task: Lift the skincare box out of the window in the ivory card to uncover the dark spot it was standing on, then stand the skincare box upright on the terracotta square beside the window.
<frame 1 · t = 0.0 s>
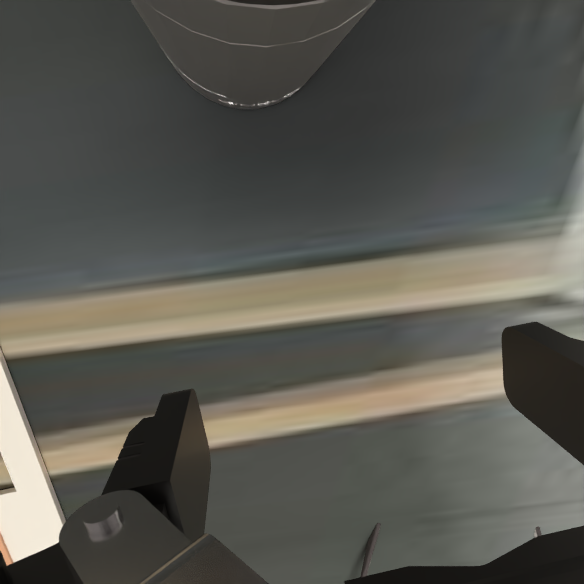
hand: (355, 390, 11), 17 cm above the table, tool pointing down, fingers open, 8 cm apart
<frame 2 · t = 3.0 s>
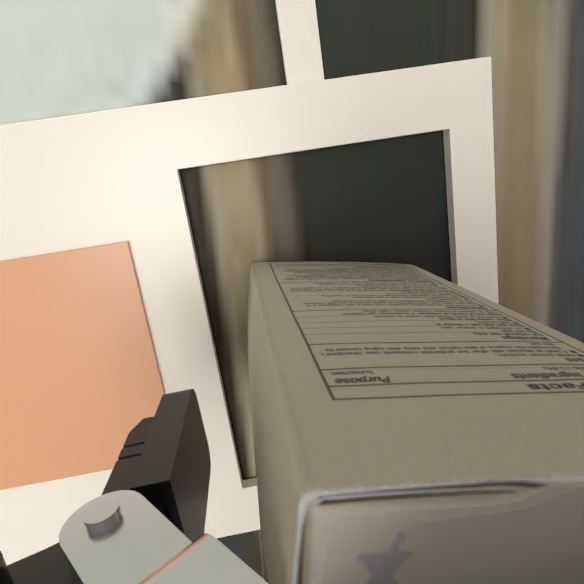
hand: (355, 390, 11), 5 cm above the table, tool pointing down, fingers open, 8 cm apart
skincare box: (334, 316, 17), resting in window card
window card: (200, 341, 16), on the table
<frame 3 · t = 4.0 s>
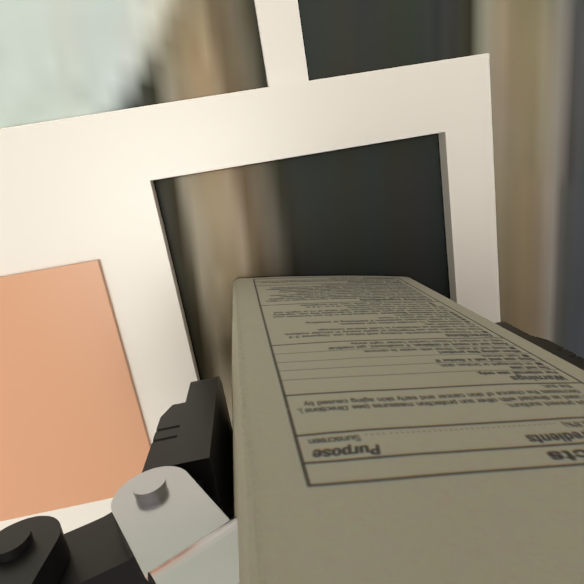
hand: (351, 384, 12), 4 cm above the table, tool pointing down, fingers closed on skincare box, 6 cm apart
skincare box: (325, 333, 16), resting in window card, touching gripper
window card: (180, 364, 15), on the table
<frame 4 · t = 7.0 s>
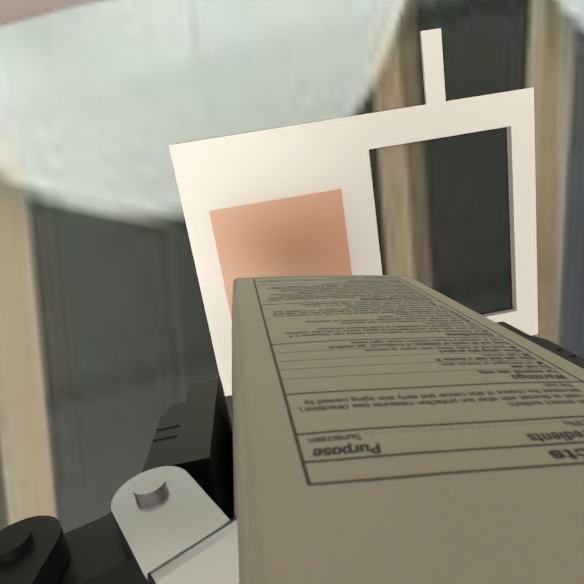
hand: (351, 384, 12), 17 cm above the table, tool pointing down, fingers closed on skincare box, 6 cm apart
skincare box: (325, 333, 16), point 13 cm above the table, touching gripper
window card: (369, 247, 29), on the table
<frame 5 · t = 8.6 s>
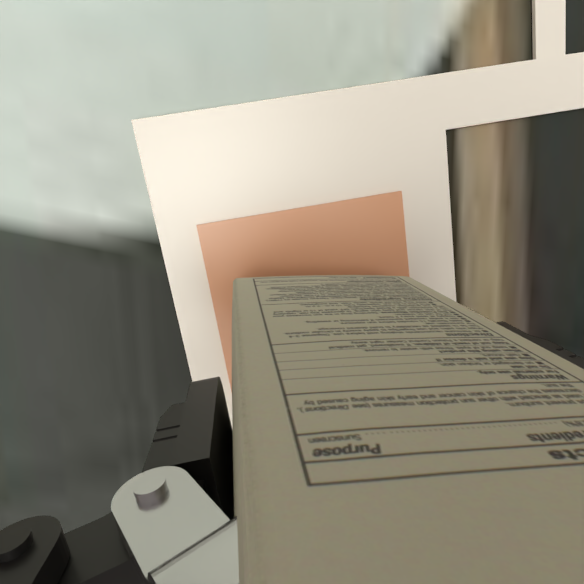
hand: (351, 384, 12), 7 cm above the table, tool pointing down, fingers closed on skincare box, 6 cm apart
skincare box: (325, 333, 16), point 3 cm above the table, touching gripper
window card: (438, 279, 19), on the table
when the fingers open (6 cm above the table, at t = 10.0 s): skincare box drops 1 cm, resting on window card.
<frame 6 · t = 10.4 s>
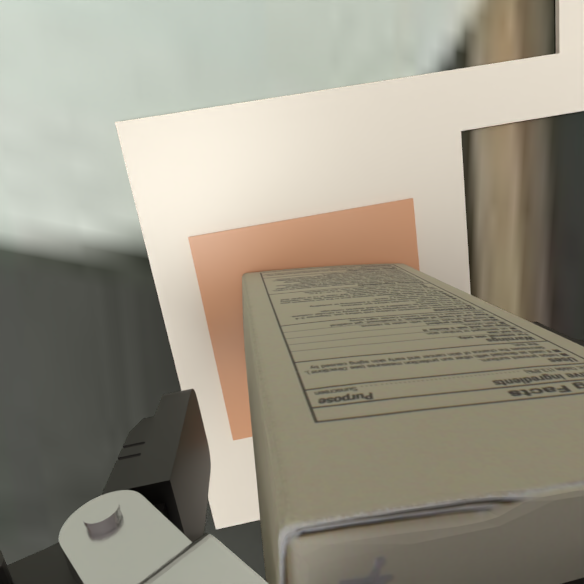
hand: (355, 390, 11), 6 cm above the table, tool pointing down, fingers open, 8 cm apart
skincare box: (329, 320, 17), point 1 cm above the table, touching window card
window card: (452, 293, 18), on the table
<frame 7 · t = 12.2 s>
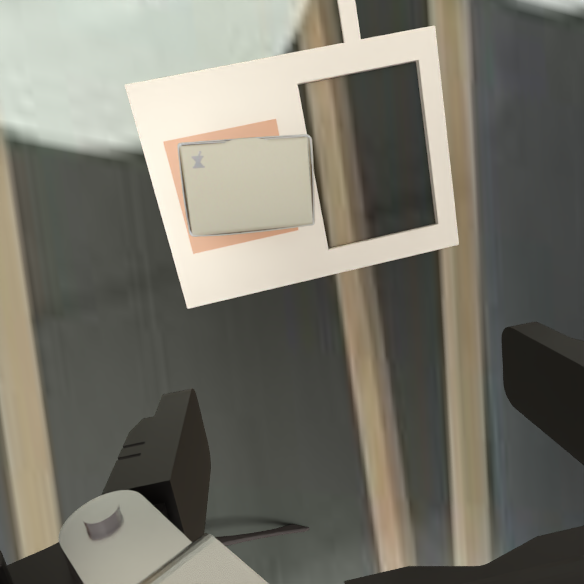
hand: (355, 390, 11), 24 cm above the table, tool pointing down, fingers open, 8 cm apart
skincare box: (239, 186, 32), point 1 cm above the table, touching window card
window card: (305, 172, 33), on the table
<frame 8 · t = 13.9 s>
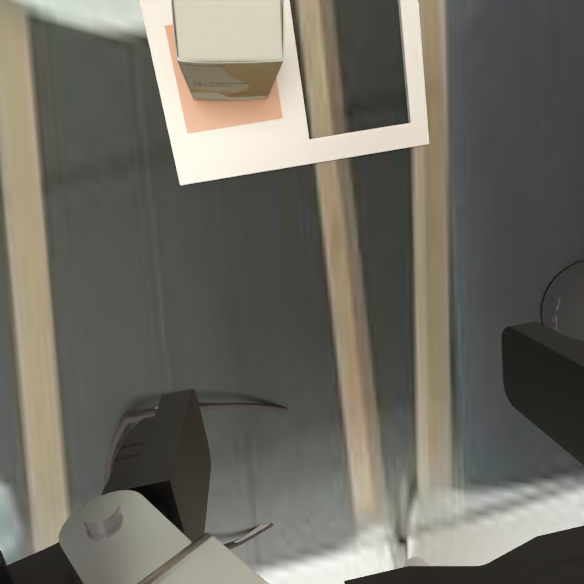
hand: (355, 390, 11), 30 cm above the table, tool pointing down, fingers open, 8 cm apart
skincare box: (231, 72, 36), point 1 cm above the table, touching window card
window card: (291, 65, 37), on the table
sunglasses: (200, 462, 46), on the table
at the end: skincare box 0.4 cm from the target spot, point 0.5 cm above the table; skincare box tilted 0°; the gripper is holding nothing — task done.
